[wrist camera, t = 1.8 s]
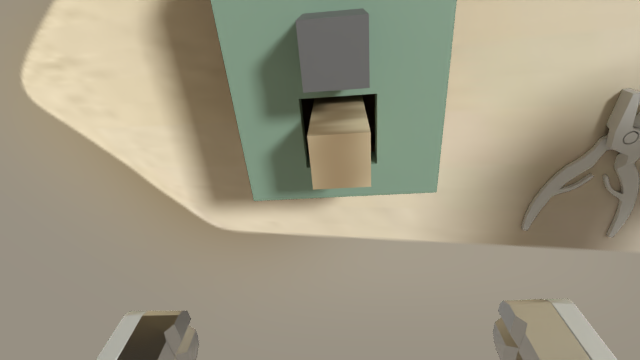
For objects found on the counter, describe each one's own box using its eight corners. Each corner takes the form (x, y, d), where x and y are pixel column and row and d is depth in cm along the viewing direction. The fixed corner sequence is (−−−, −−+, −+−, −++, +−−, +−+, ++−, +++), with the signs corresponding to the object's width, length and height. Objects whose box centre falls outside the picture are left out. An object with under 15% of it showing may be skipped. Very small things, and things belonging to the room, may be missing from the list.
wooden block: (356, 70, 27) (370, 132, 16) (357, 106, 29) (371, 186, 17) (319, 73, 27) (307, 136, 16) (322, 109, 29) (313, 189, 18)
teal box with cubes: (460, -184, 15) (522, -267, 10) (428, 175, 24) (452, 225, 19) (193, -149, 16) (129, -209, 11) (260, 184, 25) (241, 234, 20)
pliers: (524, 235, 35) (594, 88, 27) (517, 225, 36) (581, 83, 28) (621, 242, 34) (718, 98, 27) (610, 233, 36) (700, 92, 28)
